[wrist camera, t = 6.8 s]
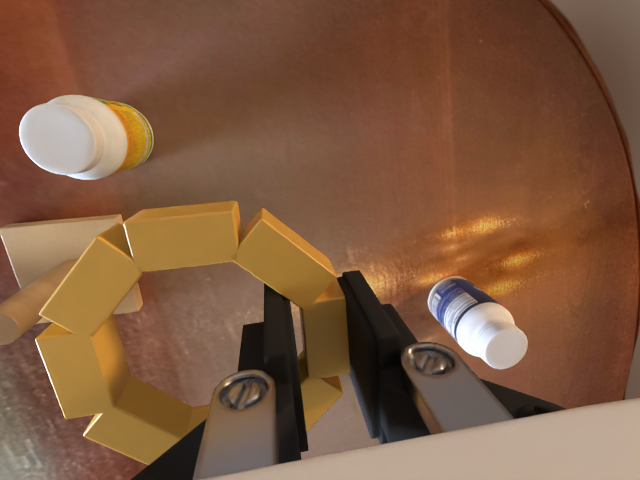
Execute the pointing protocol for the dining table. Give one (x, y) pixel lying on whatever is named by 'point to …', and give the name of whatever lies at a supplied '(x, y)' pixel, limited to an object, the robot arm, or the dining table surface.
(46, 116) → the supplement bottle
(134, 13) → the dining table surface
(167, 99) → the dining table surface
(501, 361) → the pill bottle
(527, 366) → the dining table surface
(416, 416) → the robot arm
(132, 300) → the post
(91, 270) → the ring
